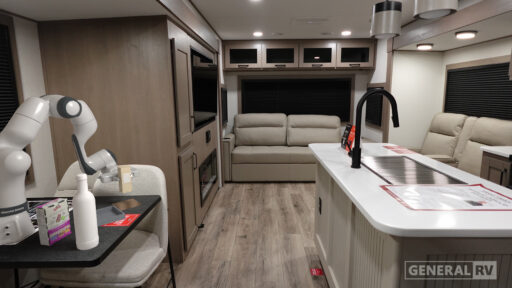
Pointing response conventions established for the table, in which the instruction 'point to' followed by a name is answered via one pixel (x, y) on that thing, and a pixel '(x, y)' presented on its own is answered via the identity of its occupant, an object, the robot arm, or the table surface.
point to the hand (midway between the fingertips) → (125, 178)
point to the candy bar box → (53, 221)
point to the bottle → (84, 215)
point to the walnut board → (126, 204)
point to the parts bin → (109, 215)
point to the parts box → (124, 178)
